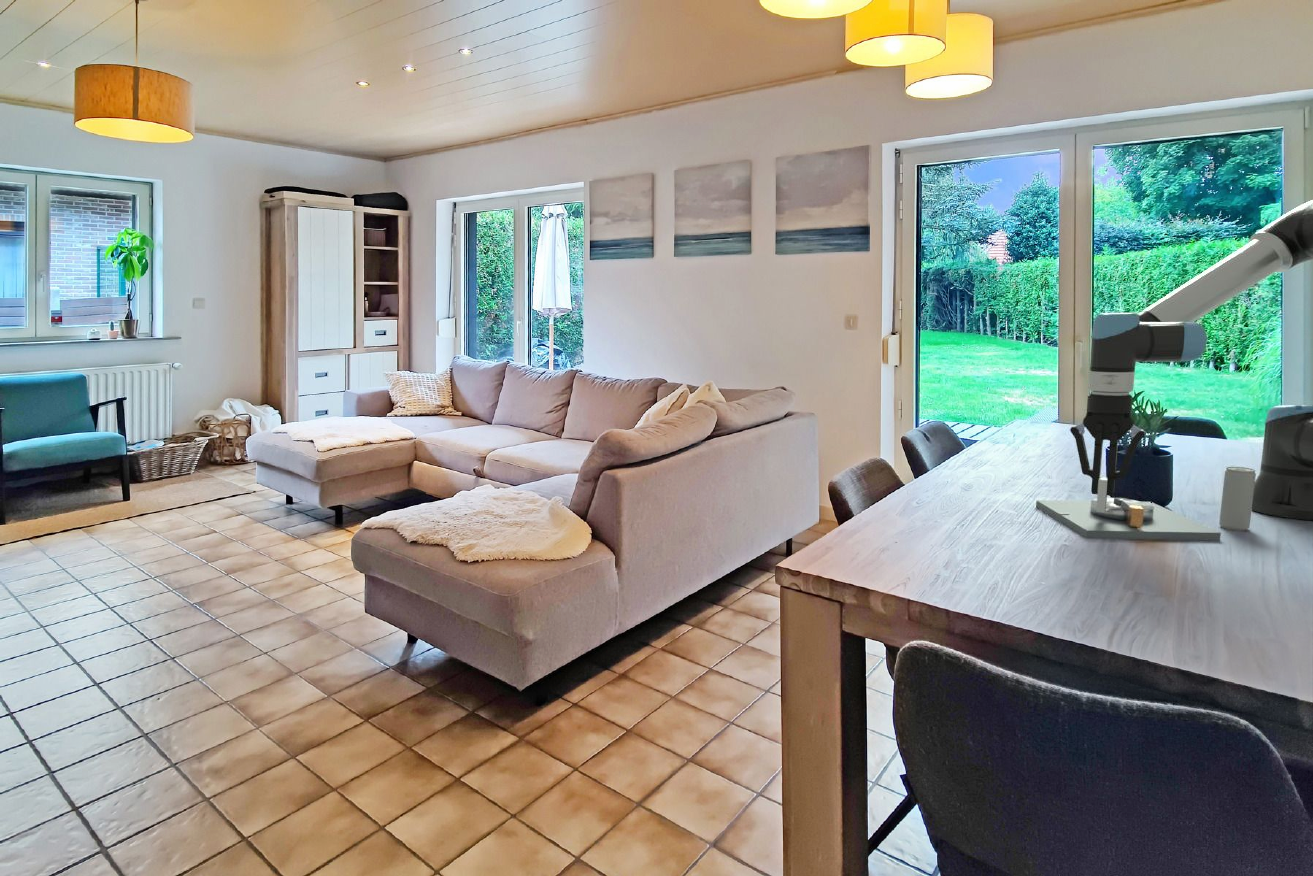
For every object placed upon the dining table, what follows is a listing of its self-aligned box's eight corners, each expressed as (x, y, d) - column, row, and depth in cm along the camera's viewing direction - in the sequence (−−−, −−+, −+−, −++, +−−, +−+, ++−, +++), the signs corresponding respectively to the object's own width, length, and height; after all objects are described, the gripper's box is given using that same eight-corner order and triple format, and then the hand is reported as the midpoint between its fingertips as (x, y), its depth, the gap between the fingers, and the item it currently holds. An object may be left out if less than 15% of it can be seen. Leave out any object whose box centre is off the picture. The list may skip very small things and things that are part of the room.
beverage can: (1254, 532, 147) (1261, 471, 145) (1226, 530, 148) (1233, 471, 146) (1240, 525, 152) (1247, 466, 150) (1213, 524, 153) (1220, 466, 151)
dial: (1084, 505, 161) (1085, 489, 161) (1143, 508, 158) (1144, 492, 158) (1103, 524, 147) (1105, 506, 146) (1169, 528, 143) (1171, 510, 143)
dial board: (1149, 508, 165) (1150, 500, 165) (1220, 540, 142) (1221, 531, 142) (1035, 506, 168) (1036, 498, 167) (1085, 538, 144) (1086, 529, 144)
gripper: (1069, 393, 147) (1061, 510, 151) (1149, 396, 140) (1138, 519, 144) (1074, 389, 154) (1066, 502, 157) (1150, 392, 146) (1140, 510, 150)
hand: (1101, 510), depth 151 cm, fingers closed
